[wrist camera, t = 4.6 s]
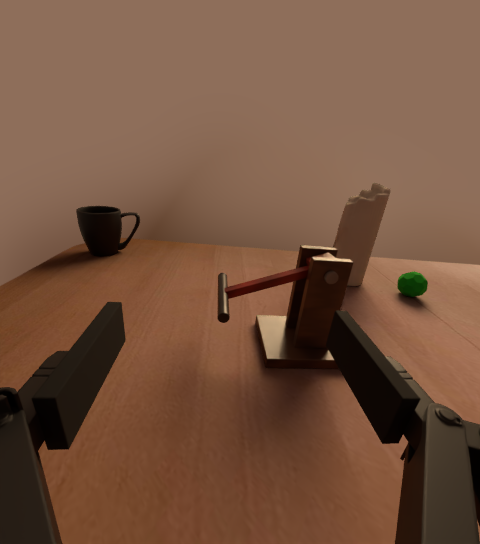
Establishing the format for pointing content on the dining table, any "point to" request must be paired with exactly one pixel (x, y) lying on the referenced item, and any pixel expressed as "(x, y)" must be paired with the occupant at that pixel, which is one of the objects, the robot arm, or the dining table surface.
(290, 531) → the dining table surface
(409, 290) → the polyhedron
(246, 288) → the red lever
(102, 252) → the mug
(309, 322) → the rod stand
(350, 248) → the candle
